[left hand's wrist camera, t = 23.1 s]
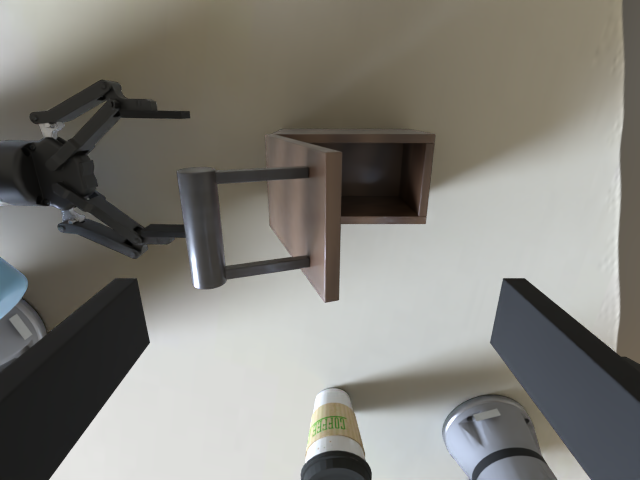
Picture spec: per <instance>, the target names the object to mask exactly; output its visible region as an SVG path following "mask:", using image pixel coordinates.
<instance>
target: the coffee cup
mask: <svg viewBox="0 0 640 480" xmlns="http://www.w3.org/2000/svg"><path fill="white" fill-rule="evenodd" d="M371 478H372V472H371V469H370V467H369V465H368V463H367V462H366V460H365V452H364V448H363V444H362V440H361V436H360V432H359V428H358V425H357V421H356V417H355V414H354V412H353V408H352V404H351V400H350V397H349V395H348V394H347V393H346V392H345V391H343V390H341V389H337V388H330V389H326V390H323V391H322V392H320V393H319V394H318V395H317V397H316V400H315V406H314V412H313V415H312V419H311V426H310V432H309V438H308V444H307V450H306V463H305V465H304V466H303V468H302V471H301V480H371Z"/></svg>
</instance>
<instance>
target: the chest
mask: <svg viewBox="0 0 640 480" xmlns="http://www.w3.org/2000/svg"><path fill="white" fill-rule="evenodd" d="M273 134H275V135H279V136H283V137H287V138H290V139H294V140H298V141H302V142H306V143H310V144H313V145H317V146H321V147H325V148H329V149H332V150H336V151H340V152H342V185H341V224H426V216H427V207H428V198H429V189H430V180H431V171H432V162H433V153H434V142H435V134H432V133H427V132H421V131H416V130H411V129H281V130H279V131H277V132H275V133H273Z"/></svg>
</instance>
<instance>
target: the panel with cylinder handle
mask: <svg viewBox="0 0 640 480" xmlns="http://www.w3.org/2000/svg"><path fill="white" fill-rule="evenodd" d="M265 146H266V165H267V168H258V169H238V170H219V171H216V170H215V169H214V168H209V167H193V168H184V169H180V170H178V171H177V178H178V185H179V192H180V199H181V206H182V213H183V221H184V228H185V235H186V242H187V249H188V256H189V263H190V270H191V277H192V284H193V286H194V287H195V288H198V289H213V288H217V287H220V286H222V285H223V284H225V282H226V281H227V279H233V278H240V277H246V276H253V275H260V274H267V273H273V272H280V271H287V270H294V269H301V270H302V272H303V273H304V274H305V276H306V277H307V279H308V280H309V281H310V283H311V284H312V286H313V287H314V288H315V290H316V291H317V292H318V294H319V295H320V297H321V298H322V299H323V301H324V302H325V303H326V302H332V301H337V300H339V275H340V230H341V185H342V152H340V151H336V150H332V149H329V148H325V147H321V146H317V145H313V144H310V143H306V142H302V141H298V140H294V139H290V138H287V137H283V136H279V135H275V134H266V135H265ZM256 181H267V185H268V204H269V223H270V227H271V228H272V230H273V231H274V233H275V234H276V235H277V237H278V238H279V240H280V241H281V242H282V244H283V245H284V247H285V248H286V249H287V251H288V252H289V253H290V255H291V256H292V257H289V258H281V259H274V260H266V261H259V262H252V263H244V264H237V265H230V266H225V256H224V247H223V237H222V227H221V217H220V208H219V198H218V188H217V184H224V183H240V182H256Z"/></svg>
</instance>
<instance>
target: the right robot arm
mask: <svg viewBox="0 0 640 480" xmlns="http://www.w3.org/2000/svg"><path fill="white" fill-rule="evenodd" d="M121 90H122V88H121V85H120V84H119V83H118V82H114V81H108V80H100V81H98V82H96V83H95V84H93V85H91V86H89V87H88V88H86V89H84V90H83V91H81V92H79V93H78V94H76V95H74V96H72V97H71V98H69V99H67V100H66V101H64V102H62V103H61V104H59V105H57V106H55V107H54V108H52V109H50V110H49V111H41V112H33V113H31V114H30V116H29V117H30V120H31V121H32V122H33V123H35V124H39V127H40V129H41V132H42V135H43V138H42V139H41V140H39V141H25V140H5V141H2V140H0V205H4V206H9V205H15V206H53V207H56V208H58V209H60V210H61V213H62V221H63V222H62V223H60V224H58V229H59V231H61V232H63V233H71V234H78V235H80V236H83V237H85V238H87V239H90V240H92V241H94V242H96V243H99V244H101V245H103V246H106V247H108V248H110V249H112V250H115V251H117V252H119V253H122V254H124V255H126V256H128V257H131V258H133V259H136V258H138V257H139V256H141V255H142V254H143V253H144V252H146V251H147V250H148V246H147V244H169V243H171V242H172V241H173V240H174V239H175V238H186V235H185V228H184V225H165V224H150V225H149V226H147V227H146V228H144V227H143V226H141V225H140V224H138V223H137V222H136V221H134V220H133V219H131V218H130V217H129V216H127V215H126V214H125V213H123V212H122V211H120V210H119V209H118V208H116V207H115V206H113V205H112V204H111V203H109V202H108V201H107V200H106V198H105V196H103V195H102V194H101V193H99V192H98V191H96V187H97V186H98V183H97V179H96V177H95V175H94V164H93V160H90V158H89V157H88V156H87V155H88V154H89V153H90V151H91V150H92V149H93V148H94V147H95V144H96V143H97V142H98V141H99V140H100V139H101V138H102V137H103V136H104V135H105V134H106V133H107V132H108V131H109V130H110V128H111V127H112V126H113V125H114V124H115V123H116V122H117V121H118V120H119V119H120V118H167V119H187V118H190V111H157V104H156V101H153V100H150V99H127V98H126V97H125V96H124V95H123V93H122V91H121ZM104 101H107V102H106V103H105V104H104V105H103V106H102V107H101V108H100V109H99V110H98V111H97V113H96V114H95V115H94V116H93V117H92V118H91V119H90V120H89V121H88V122H87V123H86V124H85V125H84V126H83V127H82V129H81V130H80V131H79V132H78V133H77V134H76V135H75V136H74V137H73V138H72V139H70V140H68V141H65V140H64V139H62V138H60V137H58V136H57V133H58V131H59V130H61V129H62V128H63V127H64V126H65V124H64V122H68V121H71V120H73V119H75V118H76V117H78V116H80V115H82V114H83V113H85V112H87V111H89V110H90V109H92V108H94V107H96V106H97V105H99V104H101V103H103V102H104ZM87 198H89V200H88V199H87ZM75 207H78V208H79V209H81V210H82V211H84V212H89V213H91V214H92V215H94V216H95V217H96V218H98V219H99V220H101V221H102V222H104V223H105V224H106V225H108V226H109V227H111V228H112V229H111V228H109V227H107V226H105V225H102V224H100V223H98V222H96V221H93V220H90V219H85V216H84V215H81V214H78V213H77V212H76V211H75V209H74V208H75ZM27 287H28V280H27V278H26V277H25V275H23V274H22V273H21V272H20V271H18V270H17V269H16V268H14V267H13V266H12V265H10V264H9V263H8V262H6V261H5V260H4V259H2V258H1V257H0V366H1V365H3V364H5V363H6V362H8V361H10V360H12V359H14V358H18V357H19V356H21V355H22V354H23V353H24V352H26V351H27V350H28V349H29V348H31V347H32V346H33V345H34V344H35V343H37V342H38V341H39V340H40V339H42V338H43V337H44V336H45V335H46V334H47V332H46V328H45V326H44V323H43V321H42V319H41V318H40V316H39V315H38V313H37V312H36V311H35V310H34V309H33V308H32V307H31V306H30V305H29V304H28V303H27V302H26V301H24V300H23V299H22V297H23V295H24V293H25V292H26V290H27Z"/></svg>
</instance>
